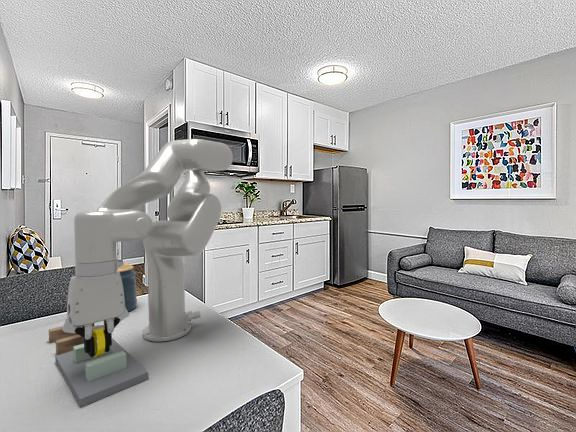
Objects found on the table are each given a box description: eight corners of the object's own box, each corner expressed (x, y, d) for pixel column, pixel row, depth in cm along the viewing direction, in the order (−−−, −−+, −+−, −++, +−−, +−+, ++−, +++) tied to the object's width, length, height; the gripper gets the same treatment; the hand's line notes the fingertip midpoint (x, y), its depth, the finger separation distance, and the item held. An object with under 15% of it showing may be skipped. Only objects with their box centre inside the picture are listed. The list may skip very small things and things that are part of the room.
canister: (143, 308, 104) (142, 257, 103) (101, 320, 94) (99, 263, 93) (128, 300, 112) (127, 253, 111) (88, 309, 103) (86, 258, 102)
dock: (113, 344, 78) (112, 327, 78) (148, 378, 63) (147, 357, 63) (55, 362, 69) (54, 343, 69) (80, 407, 54) (79, 383, 54)
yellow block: (85, 352, 67) (85, 325, 67) (99, 349, 69) (100, 322, 69) (93, 360, 63) (94, 331, 63) (108, 356, 65) (109, 328, 65)
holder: (92, 329, 87) (92, 318, 87) (104, 341, 80) (104, 330, 80) (49, 340, 80) (48, 329, 80) (57, 355, 73) (57, 343, 72)
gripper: (129, 261, 74) (130, 335, 74) (46, 271, 62) (48, 359, 63) (142, 265, 68) (143, 345, 69) (53, 278, 57) (56, 374, 58)
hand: (98, 351), depth 66 cm, fingers closed on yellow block, 2 cm apart
